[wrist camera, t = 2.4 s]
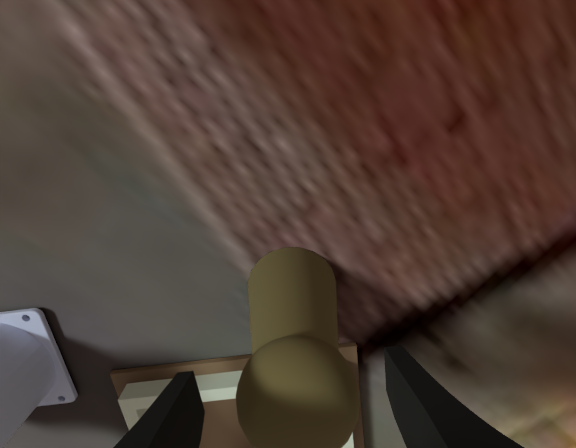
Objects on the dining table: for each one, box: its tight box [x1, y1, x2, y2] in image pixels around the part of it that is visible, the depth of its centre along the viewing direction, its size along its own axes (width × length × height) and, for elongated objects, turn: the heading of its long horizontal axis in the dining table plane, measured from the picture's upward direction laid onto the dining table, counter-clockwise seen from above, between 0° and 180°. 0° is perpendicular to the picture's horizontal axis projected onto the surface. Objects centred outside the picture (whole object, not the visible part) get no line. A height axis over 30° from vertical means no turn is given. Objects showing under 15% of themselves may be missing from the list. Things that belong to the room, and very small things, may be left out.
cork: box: [236, 247, 360, 448], centre depth 18 cm, size 6×6×11 cm
